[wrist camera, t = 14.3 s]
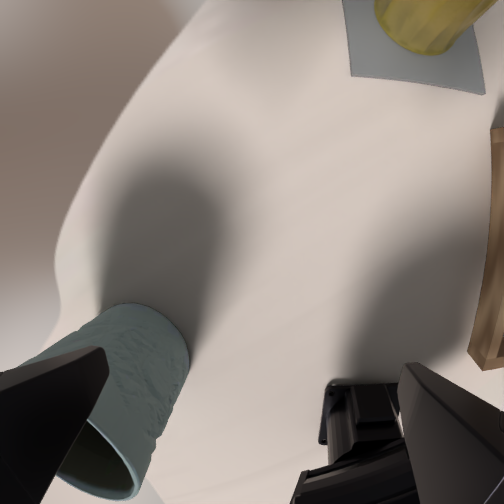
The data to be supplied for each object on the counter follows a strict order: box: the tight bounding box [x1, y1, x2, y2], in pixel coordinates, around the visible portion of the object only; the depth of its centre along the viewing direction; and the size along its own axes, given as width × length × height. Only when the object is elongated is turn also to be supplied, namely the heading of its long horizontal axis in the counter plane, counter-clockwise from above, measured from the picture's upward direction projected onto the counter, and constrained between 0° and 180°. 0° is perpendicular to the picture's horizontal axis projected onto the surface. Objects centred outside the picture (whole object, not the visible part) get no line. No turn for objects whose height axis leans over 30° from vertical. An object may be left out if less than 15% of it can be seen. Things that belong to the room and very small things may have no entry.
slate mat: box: [342, 0, 486, 95], centre depth 16 cm, size 10×10×1 cm
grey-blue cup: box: [16, 303, 189, 501], centre depth 19 cm, size 10×10×12 cm
